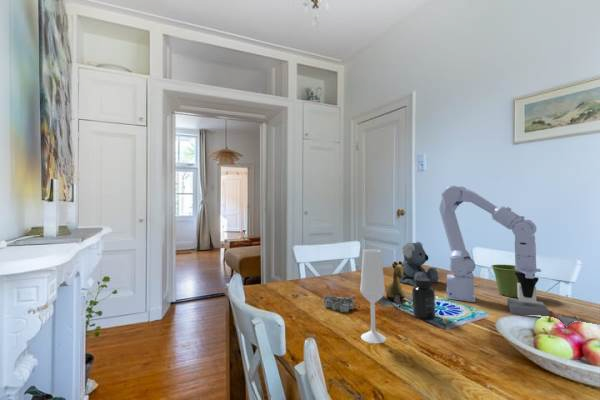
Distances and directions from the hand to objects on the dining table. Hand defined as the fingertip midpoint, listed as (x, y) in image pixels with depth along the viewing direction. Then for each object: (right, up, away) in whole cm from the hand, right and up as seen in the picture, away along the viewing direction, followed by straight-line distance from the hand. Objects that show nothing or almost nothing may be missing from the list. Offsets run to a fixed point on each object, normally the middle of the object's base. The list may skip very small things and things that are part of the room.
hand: (526, 295), depth 100 cm
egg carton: (-63, -7, +6) cm, 64 cm away
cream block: (0, -2, 0) cm, 2 cm away
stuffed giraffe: (-39, -7, +14) cm, 42 cm away
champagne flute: (-57, -6, -19) cm, 60 cm away
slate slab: (0, -6, 0) cm, 6 cm away
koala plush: (-23, -7, +41) cm, 47 cm away
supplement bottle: (-36, -6, -3) cm, 37 cm away
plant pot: (+7, -6, +19) cm, 21 cm away
